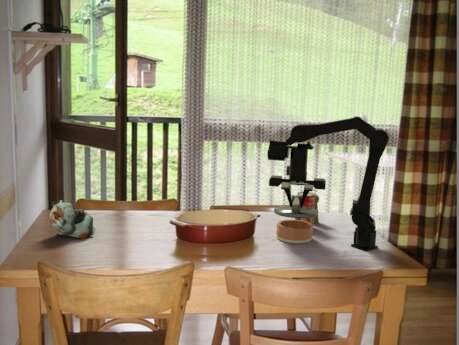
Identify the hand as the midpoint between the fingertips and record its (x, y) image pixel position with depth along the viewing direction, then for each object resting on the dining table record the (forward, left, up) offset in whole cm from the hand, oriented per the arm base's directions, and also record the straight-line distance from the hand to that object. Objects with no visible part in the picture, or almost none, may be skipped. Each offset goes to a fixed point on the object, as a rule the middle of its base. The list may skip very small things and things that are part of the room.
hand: (296, 207), depth 179 cm
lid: (0, 0, -2) cm, 2 cm away
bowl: (+2, -1, -12) cm, 12 cm away
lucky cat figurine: (+45, +61, -12) cm, 76 cm away
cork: (+14, -22, -12) cm, 29 cm away
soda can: (+10, -14, -12) cm, 21 cm away
